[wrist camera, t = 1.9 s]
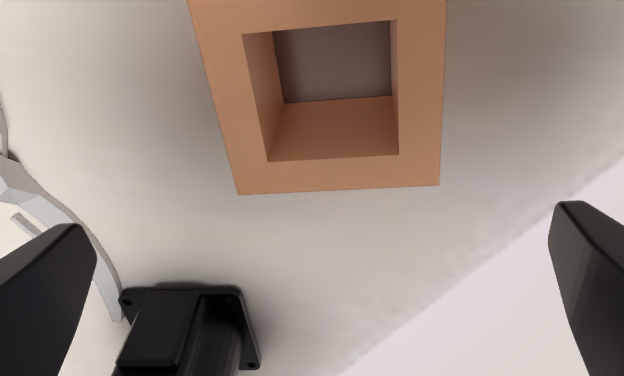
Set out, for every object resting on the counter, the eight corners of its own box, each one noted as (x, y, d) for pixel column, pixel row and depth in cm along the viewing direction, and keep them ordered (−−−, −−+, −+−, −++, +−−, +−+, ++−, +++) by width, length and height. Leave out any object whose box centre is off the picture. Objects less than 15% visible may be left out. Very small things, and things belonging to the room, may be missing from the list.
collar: (424, 122, 18) (439, 185, 15) (258, 133, 19) (237, 195, 16) (428, -68, 14) (448, -38, 11) (221, -43, 15) (184, -9, 12)
